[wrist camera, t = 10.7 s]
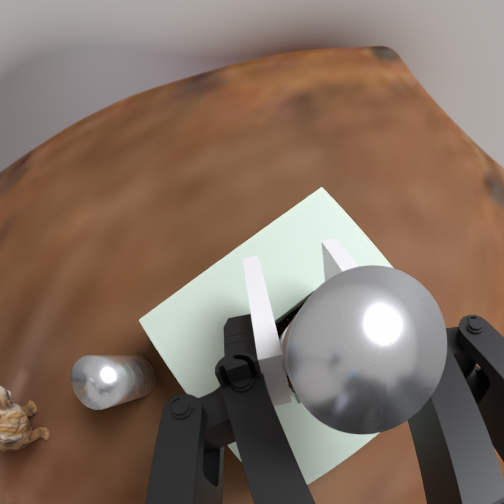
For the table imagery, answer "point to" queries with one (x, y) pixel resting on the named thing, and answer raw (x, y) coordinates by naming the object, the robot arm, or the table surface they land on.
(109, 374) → the short peg
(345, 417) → the tall peg
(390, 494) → the table surface
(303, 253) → the socket block
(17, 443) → the lion figurine
